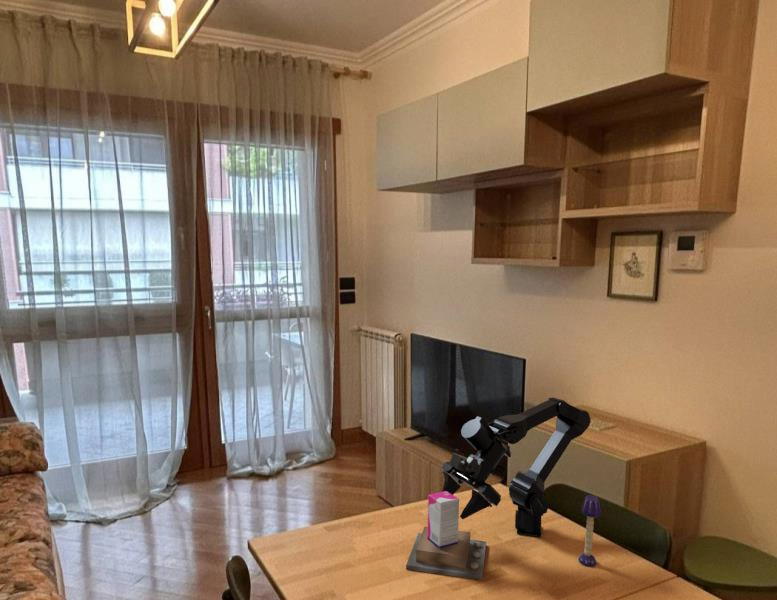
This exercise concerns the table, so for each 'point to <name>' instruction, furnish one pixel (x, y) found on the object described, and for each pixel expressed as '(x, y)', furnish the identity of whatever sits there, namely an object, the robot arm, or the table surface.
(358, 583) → the table surface
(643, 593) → the table surface
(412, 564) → the walnut brick base
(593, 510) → the toy lamp
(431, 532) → the supplement box
